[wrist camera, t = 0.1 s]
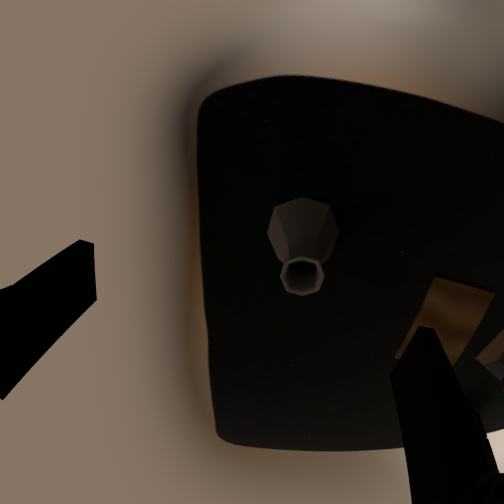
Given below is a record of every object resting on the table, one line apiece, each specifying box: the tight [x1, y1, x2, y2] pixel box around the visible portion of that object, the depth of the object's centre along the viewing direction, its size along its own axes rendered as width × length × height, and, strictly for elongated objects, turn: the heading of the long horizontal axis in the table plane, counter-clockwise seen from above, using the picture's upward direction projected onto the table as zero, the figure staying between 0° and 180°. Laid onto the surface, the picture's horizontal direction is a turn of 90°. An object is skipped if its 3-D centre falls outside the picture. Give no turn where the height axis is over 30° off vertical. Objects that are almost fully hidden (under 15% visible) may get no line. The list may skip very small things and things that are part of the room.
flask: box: [267, 197, 339, 296], centre depth 27 cm, size 7×7×10 cm
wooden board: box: [394, 276, 495, 366], centre depth 33 cm, size 12×10×1 cm
